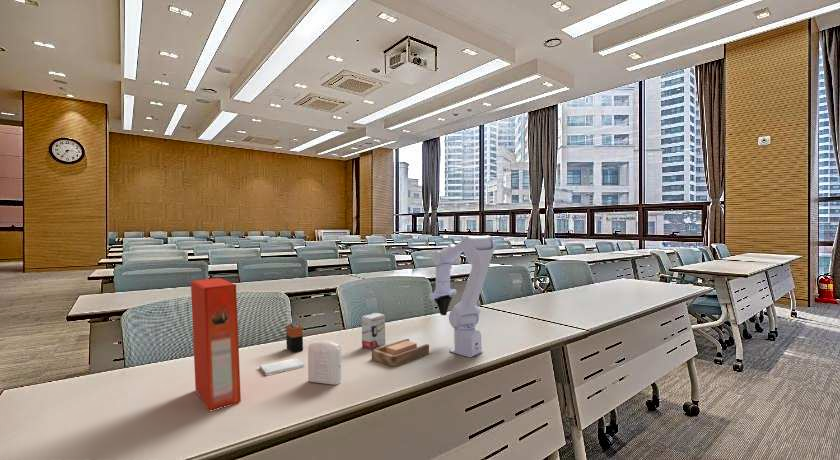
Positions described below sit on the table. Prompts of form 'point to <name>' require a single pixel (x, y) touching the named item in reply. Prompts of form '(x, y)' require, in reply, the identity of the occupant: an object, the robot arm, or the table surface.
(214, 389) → the file binder
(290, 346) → the battery
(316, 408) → the table surface
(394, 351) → the tile front
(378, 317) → the ink box
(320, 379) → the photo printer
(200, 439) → the table surface
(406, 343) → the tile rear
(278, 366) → the hard drive
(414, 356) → the tray
